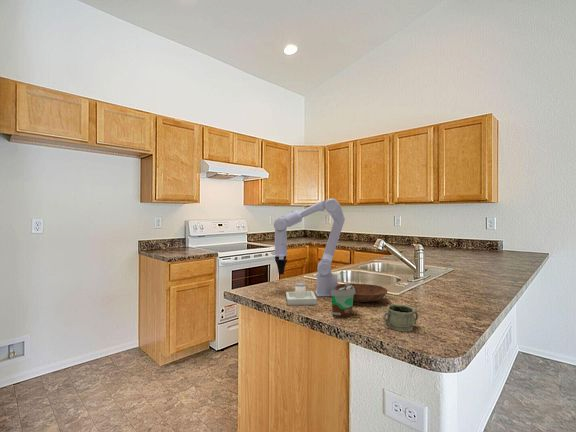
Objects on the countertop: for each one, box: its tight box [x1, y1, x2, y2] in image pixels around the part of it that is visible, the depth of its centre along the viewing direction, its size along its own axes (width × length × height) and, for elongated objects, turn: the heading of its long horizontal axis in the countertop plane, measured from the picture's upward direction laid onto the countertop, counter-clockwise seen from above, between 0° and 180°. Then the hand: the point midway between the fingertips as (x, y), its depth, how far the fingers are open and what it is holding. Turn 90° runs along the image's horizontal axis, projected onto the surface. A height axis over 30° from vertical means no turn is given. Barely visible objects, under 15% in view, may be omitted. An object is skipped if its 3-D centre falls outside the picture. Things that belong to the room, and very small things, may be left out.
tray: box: [285, 290, 318, 307], centre depth 129 cm, size 12×12×2 cm
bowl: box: [335, 283, 388, 303], centre depth 131 cm, size 20×22×5 cm
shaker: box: [294, 281, 307, 299], centre depth 129 cm, size 4×4×7 cm
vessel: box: [383, 303, 419, 332], centre depth 100 cm, size 12×9×6 cm
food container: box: [330, 283, 355, 318], centre depth 112 cm, size 12×6×10 cm, turn 143°
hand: (280, 272), depth 142 cm, fingers open, 7 cm apart
